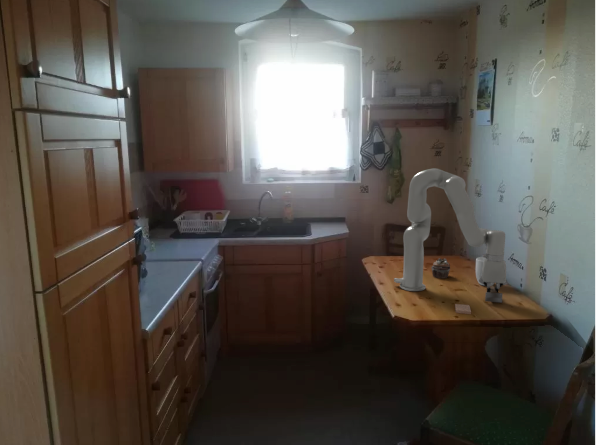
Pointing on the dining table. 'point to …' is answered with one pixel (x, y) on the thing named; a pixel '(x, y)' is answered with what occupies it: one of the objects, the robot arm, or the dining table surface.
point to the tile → (462, 309)
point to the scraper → (493, 295)
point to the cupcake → (440, 268)
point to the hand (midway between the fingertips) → (492, 295)
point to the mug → (480, 269)
